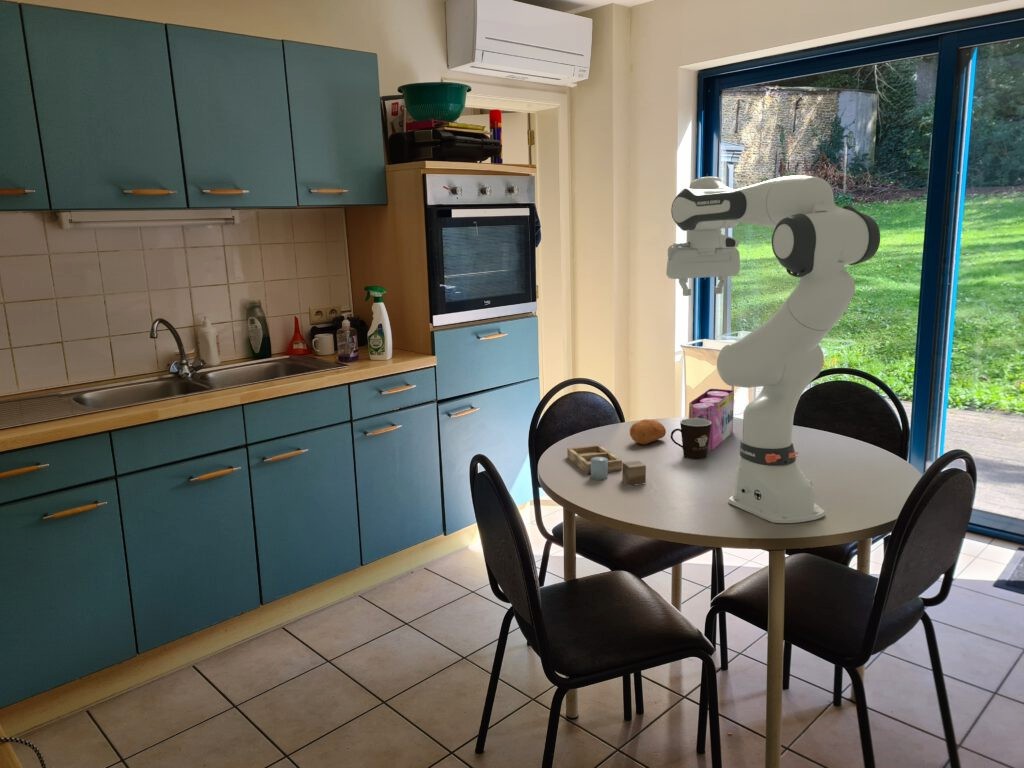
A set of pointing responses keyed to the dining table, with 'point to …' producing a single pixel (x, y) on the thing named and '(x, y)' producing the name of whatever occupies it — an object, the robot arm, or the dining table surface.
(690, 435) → the coffee mug
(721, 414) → the gum box
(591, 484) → the dining table surface
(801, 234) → the robot arm
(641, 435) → the potato
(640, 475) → the walnut block
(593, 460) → the grey capsule
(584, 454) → the wooden tray
